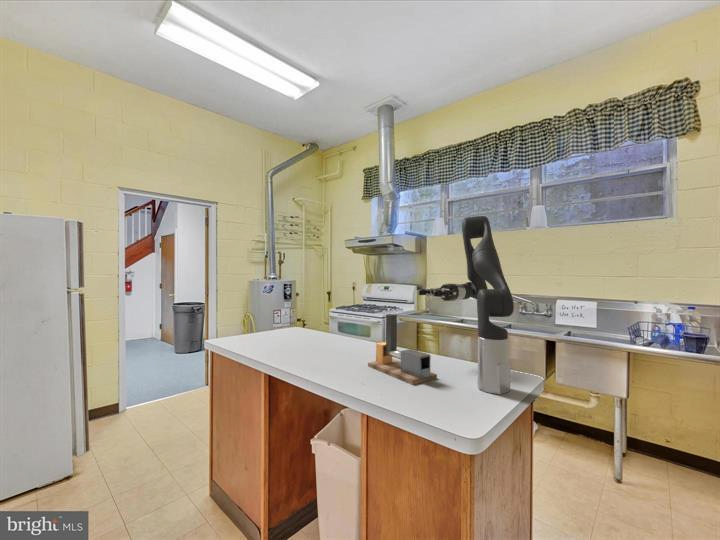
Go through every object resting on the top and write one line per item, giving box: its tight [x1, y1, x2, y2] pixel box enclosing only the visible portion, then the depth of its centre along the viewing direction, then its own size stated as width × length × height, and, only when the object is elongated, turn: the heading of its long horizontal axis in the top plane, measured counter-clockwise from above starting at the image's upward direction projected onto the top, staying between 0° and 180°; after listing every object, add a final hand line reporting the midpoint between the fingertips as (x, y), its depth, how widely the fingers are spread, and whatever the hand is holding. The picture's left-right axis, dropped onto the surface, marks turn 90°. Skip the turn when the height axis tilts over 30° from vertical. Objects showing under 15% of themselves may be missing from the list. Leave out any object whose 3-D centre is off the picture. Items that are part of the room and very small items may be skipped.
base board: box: [367, 358, 438, 386], centre depth 124 cm, size 26×12×2 cm, turn 35°
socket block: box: [375, 341, 393, 364], centre depth 133 cm, size 4×5×8 cm
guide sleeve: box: [400, 348, 431, 379], centre depth 118 cm, size 10×5×8 cm, turn 35°
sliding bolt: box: [383, 313, 402, 360], centre depth 126 cm, size 18×3×16 cm, turn 35°
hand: (426, 293), depth 133 cm, fingers open, 8 cm apart
